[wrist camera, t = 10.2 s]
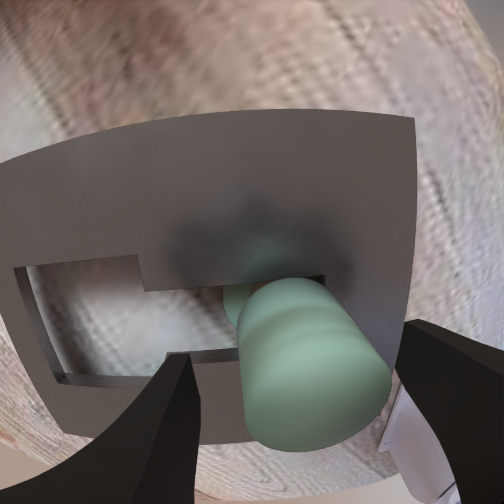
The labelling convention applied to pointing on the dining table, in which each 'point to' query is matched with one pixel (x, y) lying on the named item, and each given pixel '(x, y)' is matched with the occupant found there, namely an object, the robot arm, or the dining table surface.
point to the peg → (303, 365)
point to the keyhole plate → (212, 233)
